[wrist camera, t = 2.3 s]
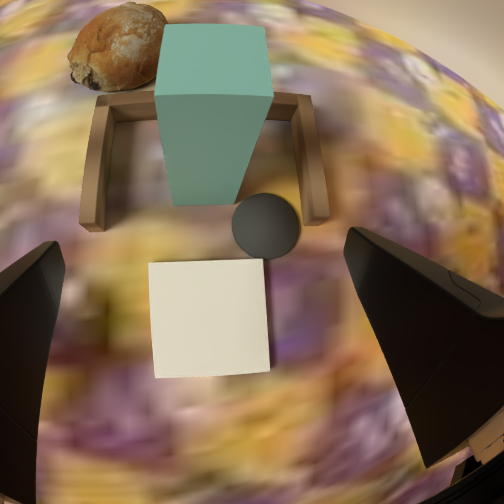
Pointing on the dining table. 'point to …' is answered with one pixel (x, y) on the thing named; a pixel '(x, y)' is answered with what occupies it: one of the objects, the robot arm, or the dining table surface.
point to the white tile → (208, 318)
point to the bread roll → (118, 48)
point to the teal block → (211, 107)
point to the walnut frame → (144, 108)
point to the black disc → (265, 226)
